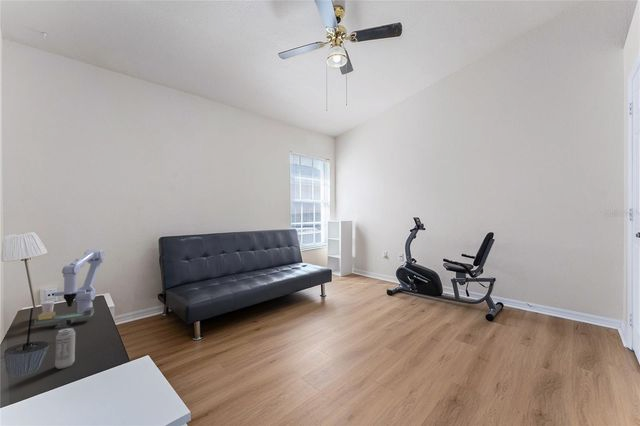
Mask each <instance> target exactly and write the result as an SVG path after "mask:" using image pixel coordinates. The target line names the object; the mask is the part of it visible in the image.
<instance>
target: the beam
mask: <svg viewBox="0 0 640 426" xmlns="http://www.w3.org/2000/svg"><path fill="white" fill-rule="evenodd" d="M94 308H95V306H92V307H89V308H87V309H86V310H85V311H84V312H82V313H75V312H74V313H66V314H67V315H66V314H61V315H60V314H59V315H55V318H54V319H50V320H43V321H38V317H37V318H36V319H34V323H33V324H34V326H36V325H43V324H50V323H56V322H57V323H58V322H60V319H65V320H72V319H75V320H79V319H85V318H90V317H92V316H93V315H94V314H95V309H94Z"/></svg>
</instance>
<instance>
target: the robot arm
mask: <svg viewBox="0 0 640 426" xmlns="http://www.w3.org/2000/svg"><path fill="white" fill-rule="evenodd" d="M105 257H106V254H105V251H104V249H98V250H96V249H95V250H86V251H84V255H83V256H81V258H76V259H75V260H74V261H73V262H70V264H67V265H64V266H63V268H62V270H61V273H62V277H63V278H64V282H63V283H64V284H63V286H64V287H63V291H59V292H58V291H57V292H54V293H53V297H60V296H62V297H63V299H64V301H66V304H67V308H71V307H72V306H73V302H74V301H75V302H76V303H77V313H82V312H84V311H85V310H86V309H87V308H89V307H93V301H94V300H95V298H96V296H97V295H96V293H97V289H96V288H94V287H93V286H94V284H95V281H96V278H97V275H98V272H99V269H100V267H101V264H102V263H103V262H104V259H105ZM86 263H88V264H90V266H89V270H88V272H87V274H86V277H85V280H84V283H83V285H82V286H80V287H79V288H78V287H77V286H78V284H77V282H78V281H77V280H78V274H79V273H80V270H81V268H83V267H84V266H85V265H86Z"/></svg>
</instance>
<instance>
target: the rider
mask: <svg viewBox="0 0 640 426" xmlns="http://www.w3.org/2000/svg"><path fill="white" fill-rule="evenodd" d="M55 316H56V311H54V310H53V312H46V313H43V312H41V313H40V314H38V316H37V318H38V321H43V320H50V319H54V318H55Z"/></svg>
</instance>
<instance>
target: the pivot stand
mask: <svg viewBox="0 0 640 426" xmlns="http://www.w3.org/2000/svg"><path fill="white" fill-rule="evenodd" d="M67 314H68V313H66V314H65V315H67ZM75 322H76V319H72V320H65V319H60V321H59V323H58V324H56V326H55V327H54V329H55V330H56V329H57V330H58V329H65V328H70V326H71V325H72V324H73V323H75Z"/></svg>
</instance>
